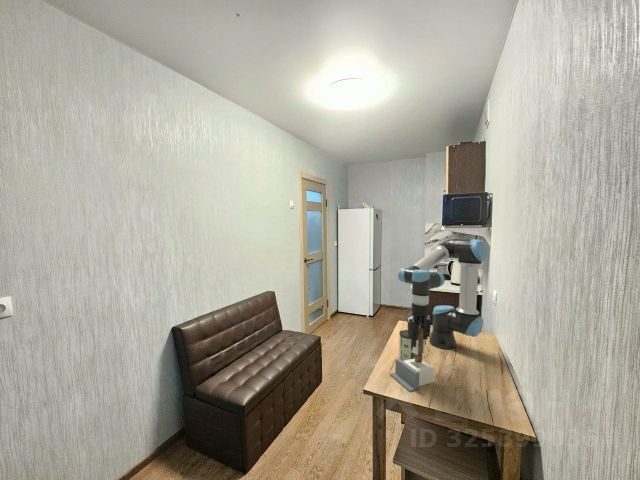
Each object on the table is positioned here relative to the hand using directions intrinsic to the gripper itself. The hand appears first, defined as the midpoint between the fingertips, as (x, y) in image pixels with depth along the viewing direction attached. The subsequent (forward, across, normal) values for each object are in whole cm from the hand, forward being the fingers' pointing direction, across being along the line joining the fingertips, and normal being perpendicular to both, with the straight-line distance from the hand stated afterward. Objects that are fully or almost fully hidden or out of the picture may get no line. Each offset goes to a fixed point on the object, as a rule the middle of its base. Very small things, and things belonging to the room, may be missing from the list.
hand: (418, 352), depth 126 cm
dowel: (+4, 0, 0) cm, 4 cm away
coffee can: (+13, -9, -17) cm, 23 cm away
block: (+13, 0, 0) cm, 13 cm away
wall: (+13, +8, 0) cm, 15 cm away
